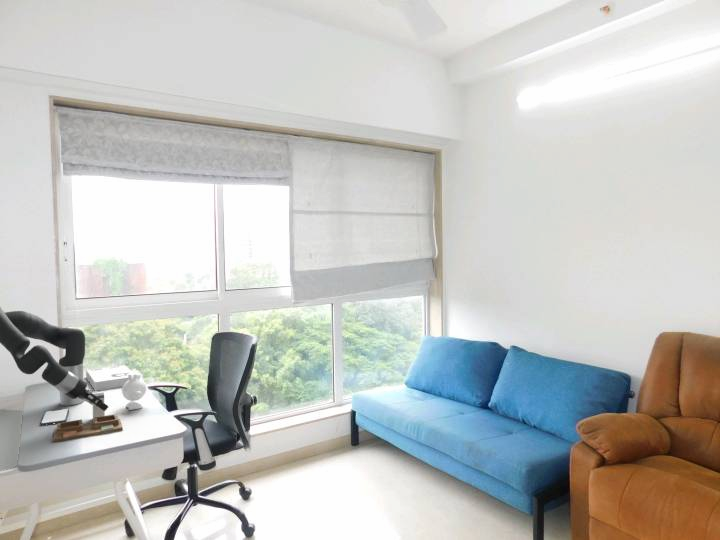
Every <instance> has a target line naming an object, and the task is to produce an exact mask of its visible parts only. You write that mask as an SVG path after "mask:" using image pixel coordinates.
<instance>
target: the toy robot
mask: <svg viewBox="0 0 720 540" xmlns="http://www.w3.org/2000/svg"><path fill="white" fill-rule="evenodd" d="M141 376H142V375H141V374H140V373H134V374H132V376H131V374H128V377H129V379H130V380H128V381H127V382H126V383H125V384H124V385H123V387H121V390H120V391H121V393H122V396H123V398H125V400H126V401H127V400H128V401H129V402H128V403H126V405H125V408H128V411H133V410H138V409H142V408H143V407H144V406H143V405H142V404H141V403H140V402H139V400H140V399H142V398H143V397H144V396H145V395H146V391H147V384H146V382H145V381H143V380H142V379H141Z"/></svg>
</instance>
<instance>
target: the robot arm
mask: <svg viewBox="0 0 720 540" xmlns="http://www.w3.org/2000/svg"><path fill="white" fill-rule="evenodd" d="M29 338H30V339H33V340H34V339H35V340H40V341H43V342H44V343H45V342H46V343H48V344H50V345H52V346H53V347H54V346H55V347H57V348H59V349H61V350H65V354H64V356H63V357H61V358H59V360H58V361H57V360H56V359H55V358H54V356H53V355H52V353H50V351H49V350H48V348H47V347H45V346H44V345H39V344H37V345H34V346H32V348H30V345H31V341H30V339H29ZM0 344H1V346H3V347H4V348H5V349H6V350H7V351H8V352H9V353H10V355H11V356H12V358H13V360H14V362H15V365H16V366H17V368H18V369H19V370H20V372H22V373H23V374H26V375H33V374H35V373H36V372H37V371H39V369H41V368H42V366H44V365H45V364H46V363H47V365H46V367H45V368H44V369H43V370H42V373H41V379H43V380H44V381H46V382H47V383H48V384H50V385H51V386H53V387H54V388H55V390H57V391H59V404H60V406H67V407H68V406H75V405H79V404H82V403H84V402H85V403H88V404H90V405H91V406H93V404H94V405H96V406H97V407H99V408H100V409H102V410H103V411H105V412H106V411H107V409H108V408H109V405H107V404H106V403H105V402H104V403H103V401H102V400H101V399H99V398H98V397H97V396H96V395H94V394H95V393H93V392H92V391H91V390H89V389H87V388H88V387H87V386H88V384H87V382H86V381H84V379H85V378H84V358H85V355H86V336H85V333H84V331H83V330H81V329H79V328H71V327H62V326H56V325H52V324H50V323H48V322H47V321H45V319H43V318H41V317H40V316H39V315H36V314H32V313H30V312H27V311H24V310H14V311H6V312H5V311H4V310H3V309H2V307H1V306H0ZM29 348H30V349H29ZM28 349H29V350H28ZM27 350H28V351H27ZM96 400H98V402H97V403H95V401H96Z"/></svg>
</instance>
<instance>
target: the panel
mask: <svg viewBox="0 0 720 540" xmlns="http://www.w3.org/2000/svg"><path fill="white" fill-rule="evenodd" d="M119 431H120V432H121V431H123V425H122V421H121V418H119V417H118V414H117V413H115V414H106V415H105V416H100V417H94V422H90V423H89V422H88V423H83V419H82V418H81V419H77V420H76V419H75V420H70V421H66V422H62V423H57V424H56V428H54V429H53V437H52V440H53V443H57V442H63V441H70V440H74V439H75V440H76V439H80V438H86V437H92V435H93V436H97V435H103V434H108V433H109V432H110V433H115V432H119ZM110 433H109V434H110Z"/></svg>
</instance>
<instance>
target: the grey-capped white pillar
mask: <svg viewBox="0 0 720 540" xmlns="http://www.w3.org/2000/svg"><path fill="white" fill-rule="evenodd" d="M93 394H94V395H96V396H97V397H98V398H99V399H101V400H102V401H103V403H105V394H104V392H97V393H96V392H95V393H93ZM97 402H98V400H96V401H95V403H97ZM105 412H106V411H103V410H102V409H100V408H99V407H97V406H96V405H94V404H93V405H92V422H93V421H94V417H100V416H106V414H105Z"/></svg>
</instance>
